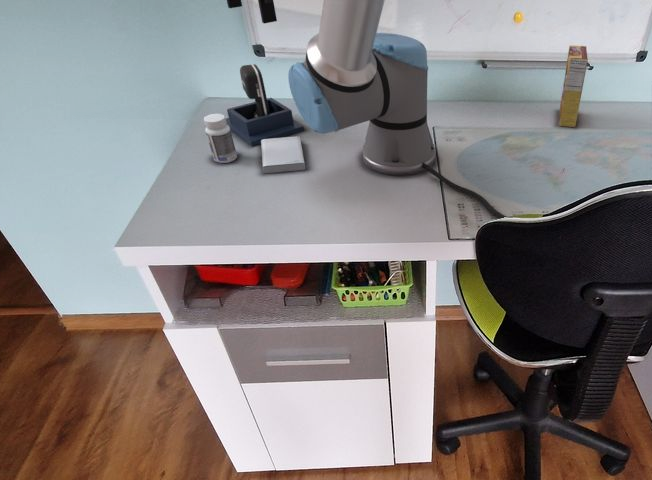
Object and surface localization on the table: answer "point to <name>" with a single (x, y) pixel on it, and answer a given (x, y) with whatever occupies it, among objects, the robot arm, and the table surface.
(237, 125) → the holder
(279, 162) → the hard drive
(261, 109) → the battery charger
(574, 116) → the candy box
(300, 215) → the table surface
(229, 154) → the pill bottle
